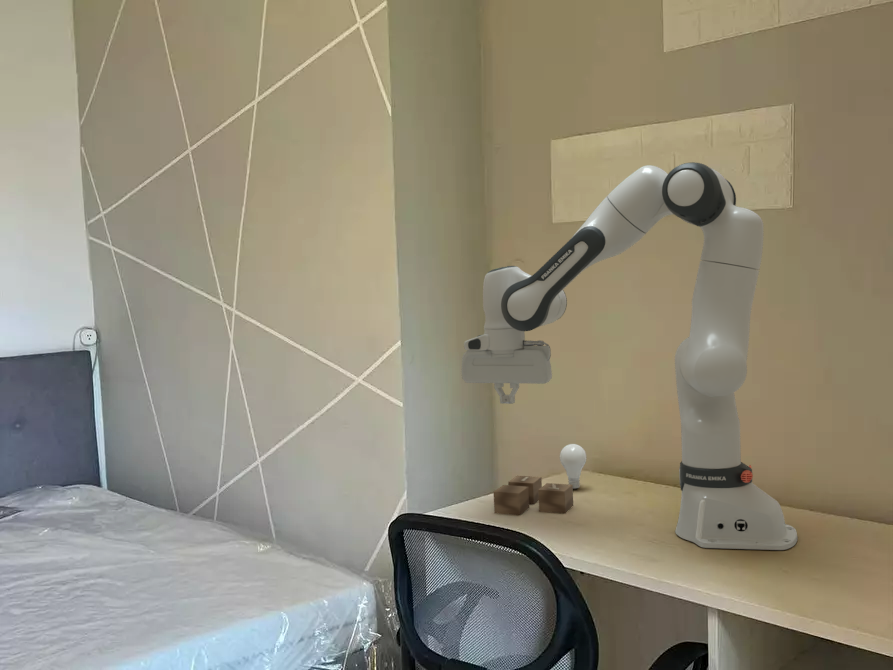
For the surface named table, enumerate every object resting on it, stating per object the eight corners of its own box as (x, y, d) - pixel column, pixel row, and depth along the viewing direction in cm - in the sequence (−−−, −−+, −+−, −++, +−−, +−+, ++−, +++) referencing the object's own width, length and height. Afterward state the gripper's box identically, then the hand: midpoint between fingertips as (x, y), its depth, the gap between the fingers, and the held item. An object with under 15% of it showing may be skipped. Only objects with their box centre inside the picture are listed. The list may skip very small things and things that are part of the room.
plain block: (529, 508, 198) (528, 486, 198) (519, 515, 193) (518, 493, 192) (504, 506, 201) (503, 484, 200) (494, 513, 195) (493, 491, 195)
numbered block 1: (542, 498, 206) (541, 476, 206) (533, 504, 201) (532, 482, 201) (518, 496, 209) (517, 475, 209) (509, 503, 204) (508, 481, 203)
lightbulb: (556, 487, 214) (554, 443, 214) (580, 484, 216) (578, 440, 215) (567, 493, 208) (566, 447, 208) (592, 490, 210) (590, 445, 209)
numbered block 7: (573, 506, 198) (572, 484, 198) (565, 513, 193) (564, 490, 192) (547, 504, 201) (546, 482, 200) (539, 511, 195) (538, 489, 195)
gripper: (554, 338, 192) (557, 401, 193) (468, 339, 201) (471, 400, 202) (545, 341, 187) (548, 406, 188) (457, 342, 195) (460, 404, 196)
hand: (507, 403), depth 195 cm, fingers closed
